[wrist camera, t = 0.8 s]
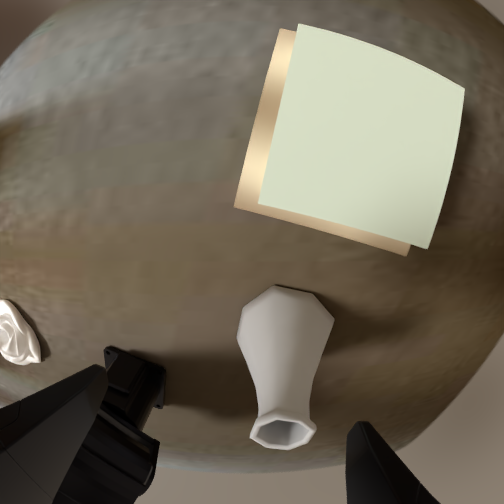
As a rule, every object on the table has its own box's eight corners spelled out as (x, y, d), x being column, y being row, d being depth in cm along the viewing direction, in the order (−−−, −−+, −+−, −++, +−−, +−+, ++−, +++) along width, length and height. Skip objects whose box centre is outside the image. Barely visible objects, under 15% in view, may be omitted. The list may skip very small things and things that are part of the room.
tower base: (390, 241, 19) (406, 256, 16) (240, 198, 19) (233, 207, 16) (430, 99, 15) (451, 94, 12) (280, 45, 15) (280, 28, 12)
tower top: (406, 232, 16) (427, 249, 13) (261, 193, 16) (257, 203, 13) (438, 95, 12) (464, 88, 10) (295, 44, 13) (298, 23, 10)
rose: (-7, 364, 25) (-31, 304, 21) (10, 348, 29) (-10, 290, 25) (36, 390, 24) (7, 325, 21) (54, 369, 28) (31, 305, 25)
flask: (350, 313, 21) (384, 416, 11) (296, 373, 23) (298, 474, 14) (268, 267, 20) (256, 366, 11) (221, 337, 22) (189, 438, 13)
